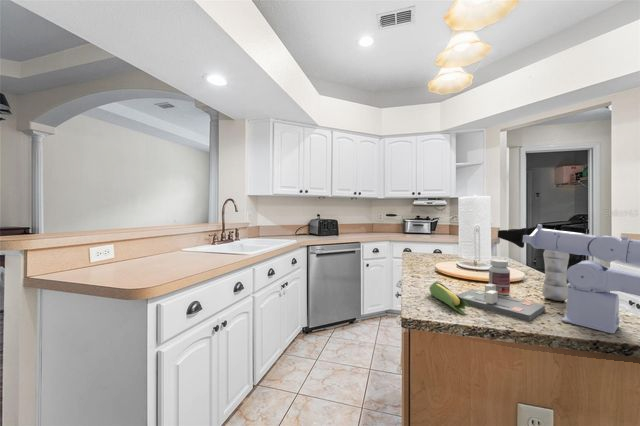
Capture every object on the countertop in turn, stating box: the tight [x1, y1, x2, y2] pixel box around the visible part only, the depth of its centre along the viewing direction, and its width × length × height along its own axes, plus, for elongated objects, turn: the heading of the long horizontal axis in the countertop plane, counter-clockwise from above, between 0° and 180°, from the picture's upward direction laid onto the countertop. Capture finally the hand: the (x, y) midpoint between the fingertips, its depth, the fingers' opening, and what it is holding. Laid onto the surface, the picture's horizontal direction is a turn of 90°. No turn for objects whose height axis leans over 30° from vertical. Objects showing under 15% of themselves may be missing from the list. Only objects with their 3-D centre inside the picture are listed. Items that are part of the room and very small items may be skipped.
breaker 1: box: [484, 283, 496, 295], centre depth 89 cm, size 2×4×3 cm, turn 127°
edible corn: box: [429, 281, 470, 316], centre depth 86 cm, size 5×20×5 cm, turn 1°
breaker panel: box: [456, 288, 546, 322], centre depth 84 cm, size 20×13×2 cm, turn 37°
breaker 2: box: [486, 290, 499, 304], centre depth 82 cm, size 2×4×3 cm, turn 127°
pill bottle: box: [488, 258, 511, 296], centre depth 97 cm, size 6×6×11 cm
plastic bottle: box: [541, 249, 570, 302], centre depth 90 cm, size 6×7×20 cm
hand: (503, 233), depth 86 cm, fingers open, 7 cm apart
